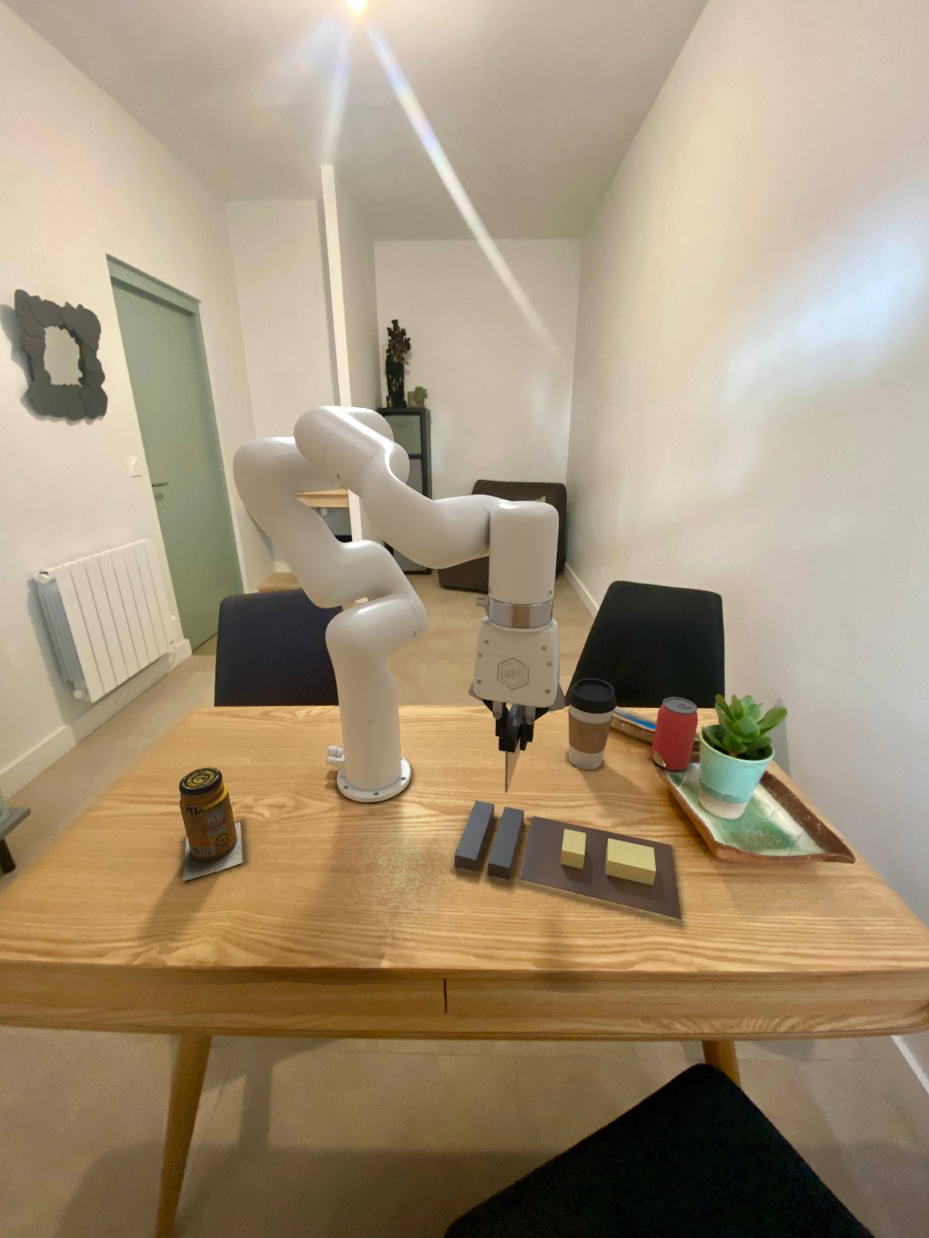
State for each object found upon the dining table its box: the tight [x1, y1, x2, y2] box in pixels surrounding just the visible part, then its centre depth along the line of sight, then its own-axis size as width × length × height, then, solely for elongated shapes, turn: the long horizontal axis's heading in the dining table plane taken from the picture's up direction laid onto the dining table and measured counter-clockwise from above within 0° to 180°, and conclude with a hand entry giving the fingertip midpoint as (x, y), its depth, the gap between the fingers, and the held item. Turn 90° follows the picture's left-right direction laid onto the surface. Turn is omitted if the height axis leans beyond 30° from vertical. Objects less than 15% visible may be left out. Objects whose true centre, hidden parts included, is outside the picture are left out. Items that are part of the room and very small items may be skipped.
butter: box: [606, 838, 656, 885], centre depth 65 cm, size 6×4×2 cm, turn 74°
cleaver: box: [498, 704, 526, 794], centre depth 63 cm, size 2×10×8 cm, turn 163°
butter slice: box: [560, 829, 586, 869], centre depth 67 cm, size 3×4×2 cm
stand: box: [454, 800, 525, 881], centre depth 69 cm, size 8×11×3 cm
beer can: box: [650, 696, 699, 772], centre depth 87 cm, size 7×7×12 cm
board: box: [519, 815, 682, 920], centre depth 67 cm, size 20×12×1 cm, turn 74°
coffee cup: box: [567, 677, 617, 771], centre depth 87 cm, size 8×8×15 cm
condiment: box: [178, 766, 244, 882], centre depth 67 cm, size 7×8×12 cm
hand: (514, 741), depth 63 cm, fingers closed on cleaver, 2 cm apart
